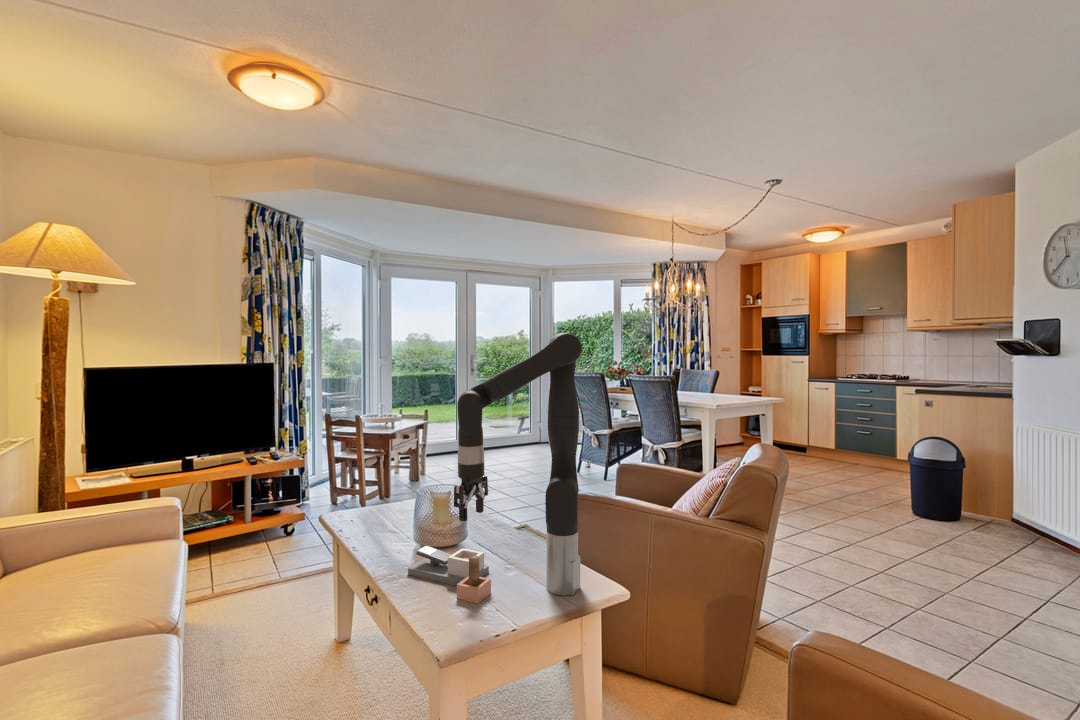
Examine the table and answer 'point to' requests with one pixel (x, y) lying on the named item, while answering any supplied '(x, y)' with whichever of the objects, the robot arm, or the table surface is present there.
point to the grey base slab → (449, 568)
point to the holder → (473, 590)
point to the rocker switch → (434, 554)
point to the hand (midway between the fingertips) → (471, 516)
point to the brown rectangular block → (474, 571)
